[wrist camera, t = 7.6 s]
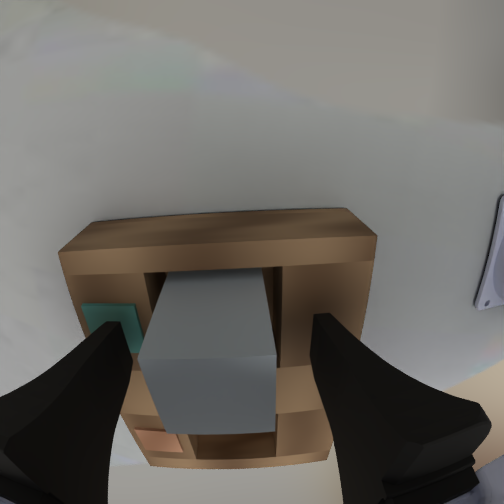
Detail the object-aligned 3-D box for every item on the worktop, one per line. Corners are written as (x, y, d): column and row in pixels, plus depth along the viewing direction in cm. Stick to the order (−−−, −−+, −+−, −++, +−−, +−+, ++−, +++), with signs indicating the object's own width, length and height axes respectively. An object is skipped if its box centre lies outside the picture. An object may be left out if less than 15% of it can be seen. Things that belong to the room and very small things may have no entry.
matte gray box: (257, 246, 14) (276, 354, 8) (259, 313, 15) (274, 431, 9) (176, 250, 14) (137, 358, 7) (187, 316, 15) (166, 433, 9)
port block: (346, 208, 14) (379, 237, 11) (317, 422, 20) (327, 462, 17) (91, 222, 14) (55, 254, 10) (157, 428, 20) (150, 468, 17)
